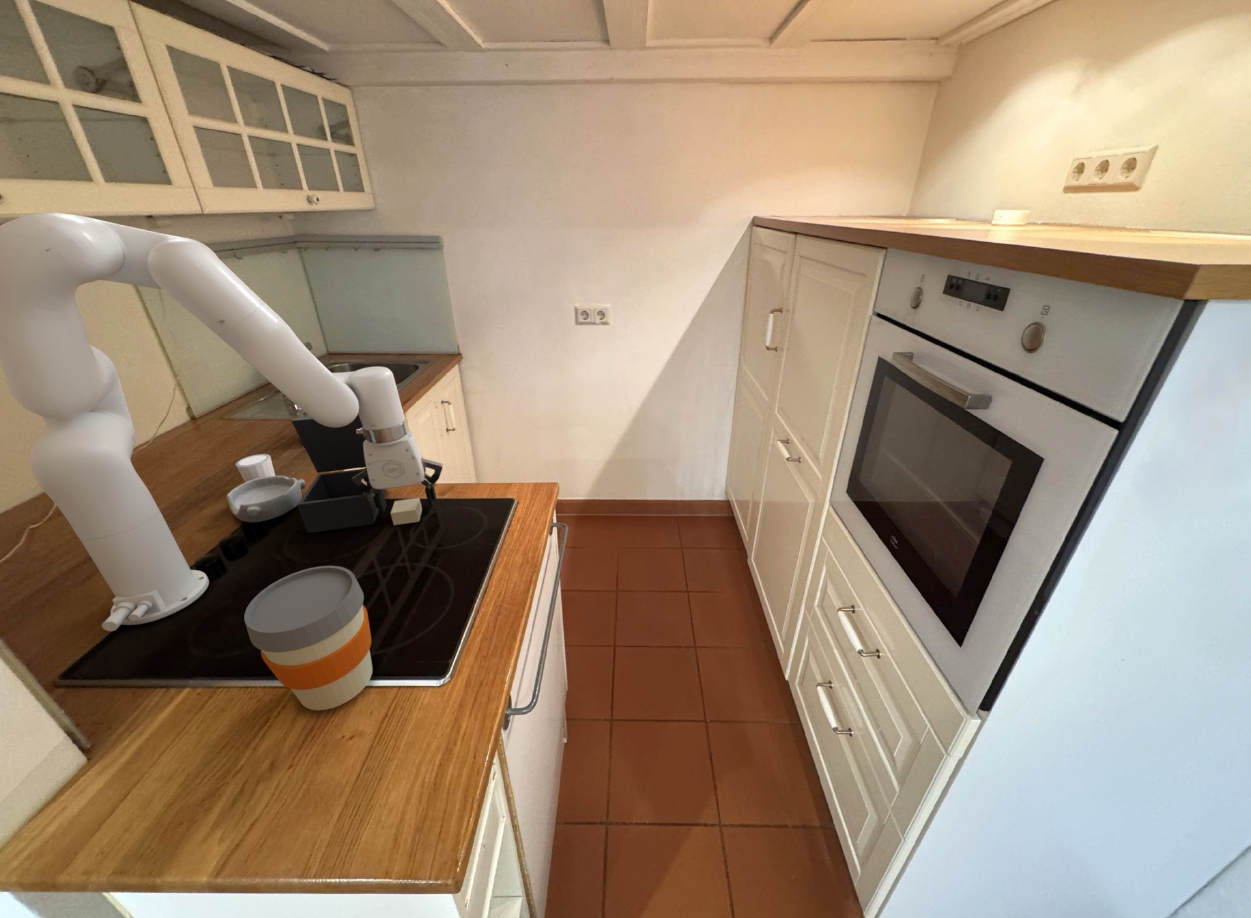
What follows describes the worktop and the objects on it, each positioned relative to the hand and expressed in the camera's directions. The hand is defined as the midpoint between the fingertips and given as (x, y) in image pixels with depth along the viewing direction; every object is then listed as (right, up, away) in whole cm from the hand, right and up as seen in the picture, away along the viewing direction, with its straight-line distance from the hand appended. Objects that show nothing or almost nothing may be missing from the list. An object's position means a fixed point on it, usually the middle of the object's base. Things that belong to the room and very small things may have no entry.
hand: (407, 505), depth 105 cm
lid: (-16, +13, +1) cm, 20 cm away
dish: (-33, -1, +7) cm, 34 cm away
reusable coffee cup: (+6, -21, -36) cm, 42 cm away
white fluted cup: (-42, +3, +16) cm, 45 cm away
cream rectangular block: (0, -2, +1) cm, 3 cm away
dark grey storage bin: (-14, -2, +4) cm, 15 cm away
